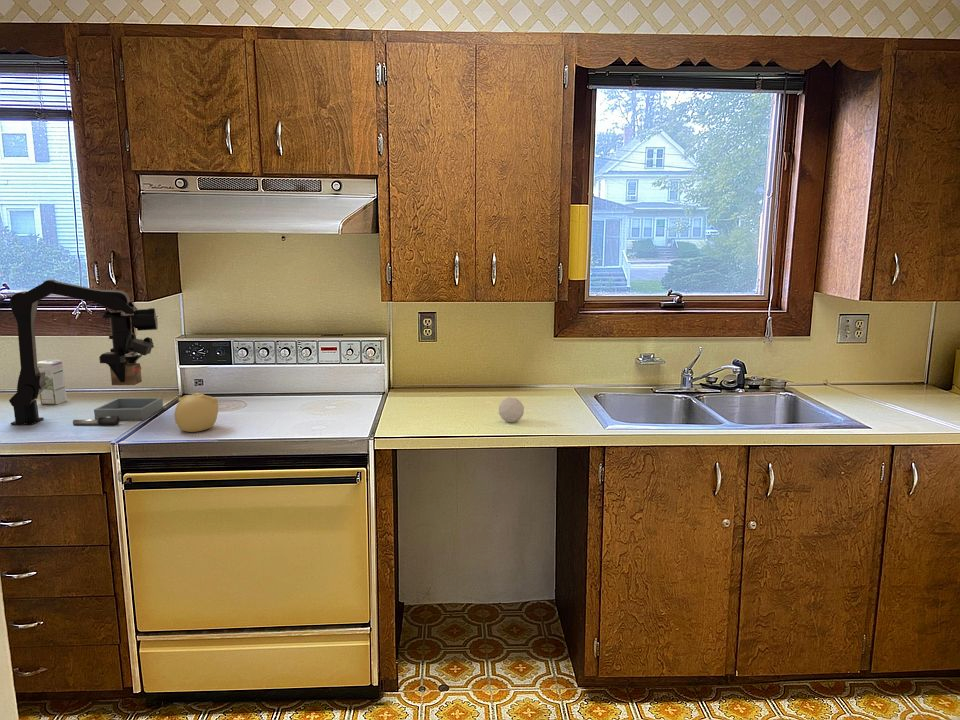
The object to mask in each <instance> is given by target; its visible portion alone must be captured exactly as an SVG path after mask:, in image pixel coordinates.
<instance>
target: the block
mask: <svg viewBox="0 0 960 720" xmlns="http://www.w3.org/2000/svg"><path fill="white" fill-rule="evenodd" d="M109 370H110V379H111V386H135V385H137V384H139V383H142V381H143V380H142V365H141V363H140V362H136V363H127V364H126V365H125V381H124V382H120V381H119V379H118V378H117V376H116V375H115V373H114V372H113V370H112V369H111V368H110V367H109Z"/></svg>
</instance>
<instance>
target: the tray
mask: <svg viewBox="0 0 960 720" xmlns="http://www.w3.org/2000/svg"><path fill="white" fill-rule="evenodd" d="M163 409H164V402H163V397H117V398H115V399H113V400H110V401H109V402H107V403H104V404H103V405H101V406H98V407H96V408H94V409H93V414H94V420H98V419H99V417H100V416H118V417H119V421H144V420H146V419H148V418H149V417H151V416H152V415H155V414H156V413H158V412H159V411H161V410H163ZM145 418H146V419H145ZM143 419H144V420H143Z"/></svg>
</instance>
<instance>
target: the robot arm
mask: <svg viewBox="0 0 960 720" xmlns="http://www.w3.org/2000/svg"><path fill="white" fill-rule="evenodd" d="M50 295H57V296H62V297H67V298H72V299H76V300H77V299H78V300H82V301H87V302H92V303H95V304H97V305H100V306H101V307H104V308H107V310H106V312H105V313H104V314H103V315H102V318H103V319H109V322H110V324H109V325H110V330H111V334H110V335H108V339H109V340H112V341H111V343H112V348H110V351H107V352H104V353H102V354H101V355H100V356H99V359H98V360H99V364H106V365H108V367H109V369H110V368H111V369H112V370H113V372H114V373H115V375H116V376H117V378H118V379H119V381H120V382H124V381H125V365H126V364H127V363H138V360H139V359H141V358H142V357H143V356H147V355H150V354H151V352H152V349H153V348H155V345H154V342H153V338H151V337H148V336H147V337H144V339H142V338H141V339H140V338H137V334H135V333H133V331H132V330H133V329H132V327H133V328H134V329H136V330H137V331H157V330H158V325H159V324H158V317H157V314H156V309H155V307H153V308H152V307H151V308H140V309H138V308H137V306H135V305H134V303H133V302H131V299H130V296H129V294H128V293H127V292H126V291H123V290H115V289H97V288H91V287H86V286H81V285H77V284H72V283H66V282H62V281H58V280H56V279H47V280H45V281H43V282H42V283H41V284H39V285H37V286H35V287H34V288H31V289H30V290H24V291H19V292H16V293H15V294H13V295H12V296H11V297H10V299H9V306H10V309H11V312H12V315H13V317H14V319H15V322H16V323H17V324H16V325H17V337H18V347H19V349H18V350H19V361H20V371H19V375H18V379H17V385H16V386H17V387H16V393H15V394H13V395H12V396H11V397H10V399H9V400H8V401H9V404H10V405H11V406H12V407H13V413H14V414H13V415H14V420H13V421H12V422H10V425H13V426H14V425H15V426H16V425H18V426H19V425H22V426H23V425H26V426H28V425H30V426H31V425H33V424H37V423H38V422H40V421H42V420H44V417H43V416H42V417H41V416H39V408H38V403H37V399H38V397H39V396H40V393H41V392H42V391H43V389H44V386H45V385H47V384H46V382H45V372H42V373H40V371H39V369H38V367H37V362H38V358H37V357H38V356H37V346H36V345H37V344H36V334H35V333H36V332H35V319H36V315H37V312H38V303H39V302H40V301H41V300H43V299H45V298H47V297H48V296H50ZM112 310H113V311H112ZM131 318H132V319H131Z"/></svg>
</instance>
